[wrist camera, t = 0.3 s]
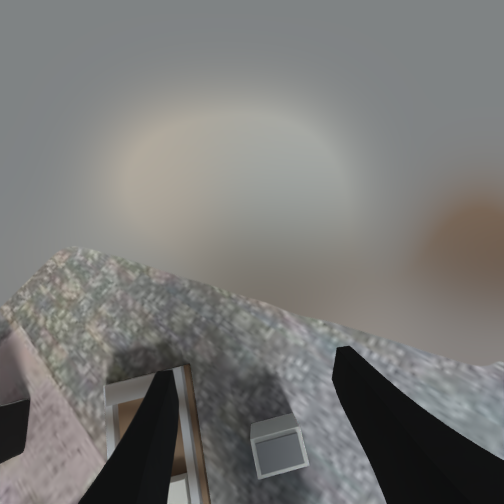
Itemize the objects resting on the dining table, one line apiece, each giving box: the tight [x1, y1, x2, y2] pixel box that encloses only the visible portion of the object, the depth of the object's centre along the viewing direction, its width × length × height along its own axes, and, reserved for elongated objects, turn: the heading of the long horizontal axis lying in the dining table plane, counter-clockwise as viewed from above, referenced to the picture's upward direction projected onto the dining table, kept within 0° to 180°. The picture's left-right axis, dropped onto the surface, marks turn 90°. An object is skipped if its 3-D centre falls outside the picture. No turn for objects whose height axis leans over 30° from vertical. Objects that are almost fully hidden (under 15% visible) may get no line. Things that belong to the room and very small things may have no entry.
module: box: [250, 413, 310, 480], centre depth 34 cm, size 4×6×6 cm, turn 103°
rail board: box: [103, 364, 211, 504], centre depth 34 cm, size 25×12×4 cm, turn 13°
